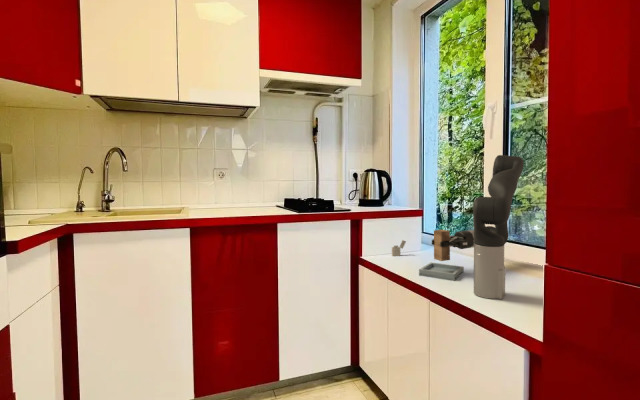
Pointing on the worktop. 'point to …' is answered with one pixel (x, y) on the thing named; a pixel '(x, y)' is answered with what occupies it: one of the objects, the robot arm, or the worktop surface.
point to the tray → (441, 271)
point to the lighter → (397, 249)
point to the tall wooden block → (441, 252)
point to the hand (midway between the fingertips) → (436, 243)
